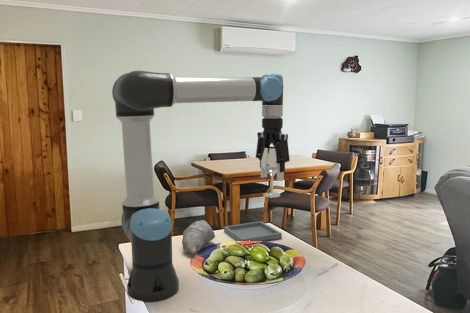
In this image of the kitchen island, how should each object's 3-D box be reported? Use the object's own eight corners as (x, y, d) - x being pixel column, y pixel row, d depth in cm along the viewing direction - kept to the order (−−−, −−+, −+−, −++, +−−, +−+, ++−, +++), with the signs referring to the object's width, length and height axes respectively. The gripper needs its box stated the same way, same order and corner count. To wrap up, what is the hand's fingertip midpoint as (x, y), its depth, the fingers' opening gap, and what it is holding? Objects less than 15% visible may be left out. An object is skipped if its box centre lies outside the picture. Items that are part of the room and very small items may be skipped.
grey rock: (192, 259, 140) (191, 232, 139) (170, 248, 151) (169, 223, 150) (226, 248, 151) (226, 223, 150) (203, 238, 162) (203, 215, 161)
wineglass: (265, 192, 152) (266, 145, 150) (285, 194, 149) (286, 146, 146) (257, 196, 145) (257, 148, 143) (278, 199, 141) (278, 149, 139)
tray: (242, 245, 154) (242, 239, 153) (224, 232, 170) (224, 226, 170) (281, 239, 161) (281, 233, 161) (260, 226, 177) (260, 221, 177)
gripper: (301, 117, 137) (299, 181, 140) (260, 116, 153) (260, 173, 156) (285, 118, 133) (285, 184, 136) (245, 117, 149) (246, 176, 152)
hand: (271, 178), depth 146 cm, fingers closed on wineglass, 8 cm apart
